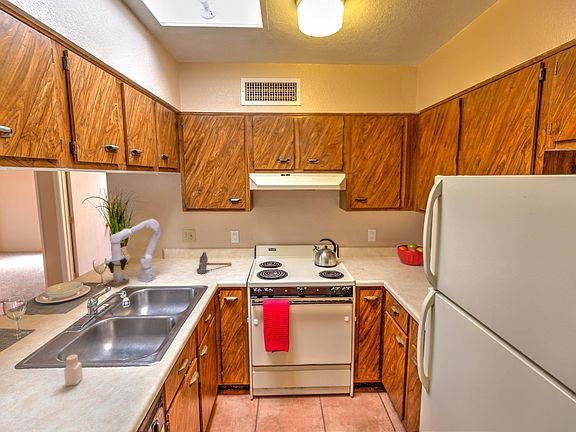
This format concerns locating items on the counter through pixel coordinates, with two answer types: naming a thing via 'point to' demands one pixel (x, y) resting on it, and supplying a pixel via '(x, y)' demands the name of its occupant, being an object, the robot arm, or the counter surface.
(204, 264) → the hammer
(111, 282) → the frame
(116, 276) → the slate peg
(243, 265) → the counter surface
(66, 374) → the salt shaker
